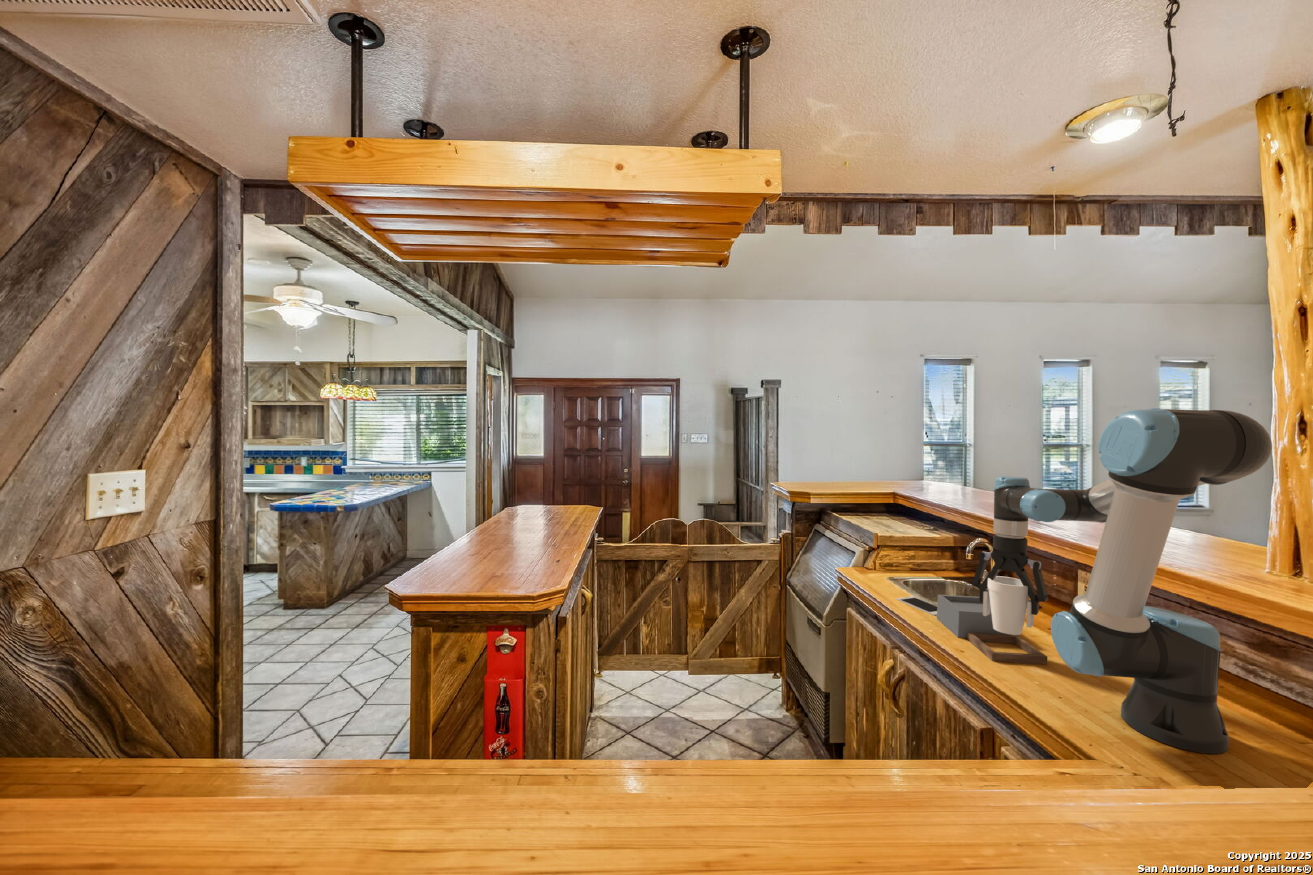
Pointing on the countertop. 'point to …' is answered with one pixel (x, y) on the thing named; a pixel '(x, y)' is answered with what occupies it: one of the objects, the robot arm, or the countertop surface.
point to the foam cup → (1008, 604)
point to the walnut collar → (1032, 656)
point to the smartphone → (919, 604)
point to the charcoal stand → (964, 615)
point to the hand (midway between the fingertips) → (1007, 620)
